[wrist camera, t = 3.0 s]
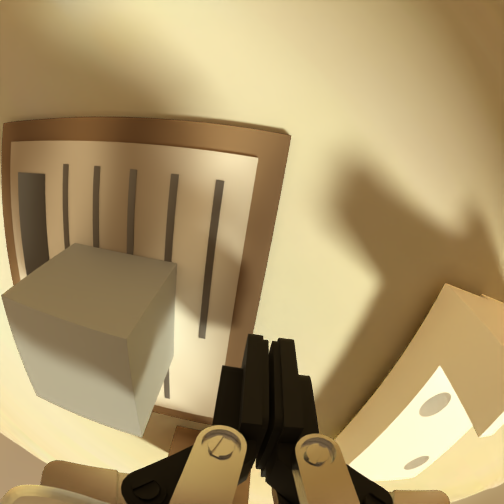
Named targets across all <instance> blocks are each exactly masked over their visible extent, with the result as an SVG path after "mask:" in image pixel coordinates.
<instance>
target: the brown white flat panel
mask: <svg viewBox="0 0 504 504" xmlns="http://www.w3.org/2000/svg"><path fill="white" fill-rule="evenodd" d="M290 140H291V135H286V134H280V133H275V132H269V131H263V130H257V129H250V128H244V127H237V126H229V125H221V124H213V123H204V122H194V121H183V120H171V119H155V118H133V117H74V118H53V119H39V120H27V121H17V122H8V123H4V125H3V138H2V203H3V217H4V227H5V236H6V244H7V251H8V258H9V264H10V269H11V275H12V280H13V285H15V284H17V283H18V282H19V281H21V280H22V279H23V278H25V277H26V276H28V275H29V274H30V273H32V272H33V271H34V270H36V269H37V268H39V267H40V266H41V265H43V264H44V263H46V262H47V261H49V260H50V259H52V258H53V257H54V256H56V255H57V254H59V253H60V252H62V251H63V250H65V249H66V248H68V247H69V246H71V245H72V244H74V243H78V244H82V245H87V246H92V247H97V248H102V249H107V250H111V251H116V252H121V253H126V254H132V255H137V256H142V257H147V258H152V259H157V260H163V261H168V262H173V263H177V274H176V293H175V318H174V357H173V359H172V362H171V364H170V367H169V369H168V372H167V374H166V377H165V379H164V382H163V384H162V387H161V389H160V392H159V395H158V397H157V400H156V402H155V405H154V407H153V410H152V411H153V412H157V413H161V414H165V415H169V416H173V417H177V418H181V419H186V420H190V421H195V422H200V423H205V424H210V425H212V422H213V416H214V410H215V405H216V399H217V393H218V387H219V381H220V375H221V369H222V365H225V366H231V367H238V368H241V366H242V361H243V356H244V351H245V346H246V341H247V336H248V334H253V330H254V325H255V320H256V315H257V311H258V306H259V301H260V296H261V291H262V286H263V281H264V276H265V271H266V266H267V261H268V256H269V251H270V246H271V241H272V236H273V231H274V226H275V220H276V215H277V210H278V205H279V200H280V194H281V189H282V184H283V178H284V173H285V168H286V162H287V157H288V151H289V146H290Z"/></svg>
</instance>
